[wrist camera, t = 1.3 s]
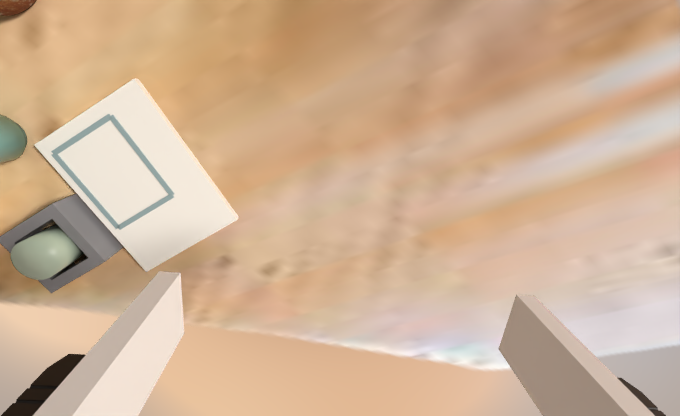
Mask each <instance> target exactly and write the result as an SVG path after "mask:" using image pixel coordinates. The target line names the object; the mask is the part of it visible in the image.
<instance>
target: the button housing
mask: <svg viewBox="0 0 680 416" xmlns="http://www.w3.org/2000/svg"><path fill="white" fill-rule="evenodd" d="M54 221H55V223H56V224H57V225H58V226H59V227H60V228H61V229H62V230H63V231H64V232H65V233H66V234H67V235H68V236H69V238H70V239H71V240H72V241H73V242H74V243H75V244H76V245H77V246H78V247H79V248H80V249H81V250H82V251H83V252H84V254H85V255H86V256H87V257H86V258H84V259H82V260H80V261H79V262H77V263H74V262H72V263H71V264H69V265H68V266H66V267H65V268H63V269H62V270H61V271H59V272H58V273H56V274H55V275H53V276H52V277H50V278H48V279H44V280H38V281H39V282H40V283H41V284H42V285H43V286H44V287H45V288H46V289H48V290H49V291H50V292H51V293H53V292H54V291H56V290H58V289H59V288H61V287H63V286H64V285H66V284H68V283H70V282H71V281H73V280H75V279H76V278H78V277H80V276H81V275H83V274H85V273H86V272H88V271H90V270H92V269H93V268H95V267H97V266H98V265H100V264H102V263H103V262H105V261H106V260H108V259H109V258H110V257H112V256H113V255H114V254H115V253H117V252H118V251H119V250H120V249H122V248H123V247H124V246H123V245H122V244H121V243H120V242H119V241H118V240H117V238H116V237H115V236H114V235H113V234H112V233H111V232H110V230H109V229H108V228H107V227H106V226H105V225H104V224H103V223H102V221H101V220H100V219H99V218H98V217H97V216H96V215H95V213H94V212H93V211H92V210H91V209H90V208H89V207H88V206H87V204H86V203H85V202H84V201H83V200H82V199H81V198H80V197H79V195H78V194H74V195H72V196H69V197H67V198H65V199H62V200H60V201H57V202H55V203H53V204H51V205H49V206H48V207H46V208H45V209H43V210H41V211H40V212H38V213H37V214H35V215H33V216H32V217H30V218H29V219H27V220H26V221H24V222H22V223H21V224H19V225H18V226H16V227H14V228H13V229H11V230H10V231H8V232H7V233H5V234H3V235H2V236H0V243H1V244H2V245H3V246H4V247H5V248H6V249H7V250H8V251H9V252H10V253H11V251H12V248H13V247H14V246H15V245H16V244H17V243H19V242H21V241H23V240H25V239H27V238H29V237H31V236H33V235H35V234H37V233H39V232H41V231H43V228H44V227H46V226H48V225H49V224H51V223H52V222H54Z"/></svg>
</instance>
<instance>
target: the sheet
mask: <svg viewBox="0 0 680 416" xmlns="http://www.w3.org/2000/svg"><path fill="white" fill-rule="evenodd" d="M34 146H35V147H36V148H37V149H38V150H39V151H40V152H41V153H42V155H43V156H44V157H45V158H46V159H47V160H48V161H49V163H50V164H51V165H52V166H53V167H54V168H55V169H56V170H57V172H58V173H59V174H60V175H61V176H62V177H63V178H64V180H65V181H66V182H67V183H68V184H69V185H70V186H71V187H72V189H73V190H74V191H75V192H76V193H77V194H78V195H79V197H80V198H81V199H82V200H83V201H84V202H85V203H86V204H87V206H88V207H89V208H90V209H91V210H92V211H93V212H94V213H95V215H96V216H97V217H98V218H99V219H100V220H101V221H102V223H103V224H104V225H105V226H106V227H107V228H108V229H109V230H110V232H111V233H112V234H113V235H114V236H115V237H116V238H117V240H118V241H119V242H120V243H121V244H122V245H123V246H124V247H125V249H126V250H127V251H128V252H129V253H130V254H131V255H132V257H133V258H134V259H135V260H136V261H137V262H138V263H139V264H140V266H141V267H142V268H143V269H144V270H145V271H146V272H147V271H149V270H151V269H152V268H154V267H156V266H158V265H159V264H161V263H163V262H165V261H166V260H168V259H170V258H172V257H173V256H175V255H177V254H179V253H180V252H182V251H184V250H186V249H187V248H189V247H191V246H192V245H194V244H196V243H198V242H199V241H201V240H203V239H205V238H206V237H208V236H210V235H212V234H213V233H215V232H217V231H219V230H220V229H222V228H224V227H226V226H227V225H229V224H231V223H232V222H234V221H236V220H237V219H238V218H239V217H238V215H237V214H236V212H235V211H234V210H233V208H232V207H231V206H230V204H229V203H228V201H227V200H226V199H225V197H224V196H223V194H222V193H221V192H220V190H219V189H218V188H217V186H216V185H215V183H214V182H213V181H212V179H211V178H210V177H209V175H208V174H207V172H206V171H205V170H204V168H203V167H202V166H201V164H200V163H199V161H198V160H197V159H196V157H195V156H194V155H193V153H192V152H191V150H190V149H189V148H188V146H187V145H186V144H185V142H184V141H183V139H182V138H181V137H180V135H179V134H178V133H177V131H176V130H175V128H174V127H173V126H172V124H171V123H170V122H169V120H168V119H167V117H166V116H165V115H164V113H163V112H162V111H161V109H160V108H159V106H158V105H157V104H156V102H155V101H154V99H153V98H152V97H151V95H150V94H149V93H148V91H147V90H146V88H145V87H144V86H143V84H142V83H141V82H140V80H139V79H133V80H131V81H130V82H128V83H127V84H125V85H124V86H122V87H121V88H119V89H118V90H116V91H115V92H113V93H112V94H110V95H109V96H107V97H106V98H104V99H103V100H101V101H100V102H98V103H97V104H95V105H94V106H92V107H91V108H89V109H88V110H86V111H85V112H83V113H82V114H80V115H79V116H77V117H76V118H74V119H73V120H71V121H70V122H68V123H67V124H65V125H64V126H62V127H61V128H59V129H58V130H56V131H55V132H53V133H52V134H50V135H49V136H47V137H46V138H44V139H43V140H41V141H39V142H38V143H36V144H35V145H34Z"/></svg>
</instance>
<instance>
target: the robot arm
mask: <svg viewBox="0 0 680 416" xmlns="http://www.w3.org/2000/svg"><path fill="white" fill-rule="evenodd" d="M183 334H184V322H183V306H182V289H181V273H178V272H162V271H159V272H158V273H157V274H156V276H155V277H154V278H153V279H152V280H151V281H150V282H149V283H148V285H147V286H146V287H145V288H144V289H143V290H142V291H141V293H140V294H139V295H138V296H137V297H136V298H135V299H134V301H133V302H132V303H131V304H130V305H129V306H128V307H127V309H126V310H125V311H124V312H123V313H122V314H121V315H120V317H119V318H118V319H117V320H116V321H115V322H114V323H113V325H112V326H111V327H110V328H109V329H108V330H107V331H106V333H105V334H104V335H103V336H102V337H101V339H99V341H98V342H97V343H96V344H95V345H94V346H93V347H92V349H91V350H90V351H89V352H88V353H87V354H86V355H80V354H68V355H67V356H65V357H64V358H62V359H61V360H59V361H57V362H56V363H54V364H53V365H51V366H50V367H48V368H47V369H46V370H45V371H44V372H43V373H42V374H41V375H40V376H39V377H38V378H37V379H36V380H35V381H34V382H33V383H32V384H31V387H30V388H29V389H26V390H25V391H24V392H23V393H22V395H21V396H20V397H19V398H18V399H17V401H16V403H13V404H12V405H11V406H10V407H9V408H8V409H7V410H6V411H5V412H4V413H3V414H2V415H1V416H138V415H139V413H140V411H141V409H142V408H143V406H144V404H145V402H146V400H147V399H148V397H149V395H150V393H151V391H152V390H153V388H154V386H155V384H156V383H157V381H158V379H159V377H160V375H161V373H162V372H163V370H164V368H165V366H166V365H167V363H168V361H169V359H170V357H171V356H172V354H173V352H174V350H175V348H176V347H177V345H178V343H179V341H180V340H181V338H182V336H183ZM499 350H500V352H501V353H502V355H503V356H504V358H505V359H506V361H507V362H508V364H509V365H510V367H511V368H512V370H513V371H514V373H515V374H516V376H517V377H518V379H519V380H520V382H521V383H522V385H523V387H524V388H525V389H526V391H527V393H528V394H529V395H530V397H531V398H532V400H533V402H534V403H535V404H536V406H537V408H538V409H539V410H540V412H541V413H542V415H543V416H666V415H664V414H663V412H661V411H658V409H657V407H656V406H655V405H654V404H653V403H652V402H651V401H650V400H649V399H648V398H647V397H646V396H645V395H644V394H643V393H642V392H641V391H639V390H638V389H636V388H635V387H633V386H632V385H630V384H629V383H628V382H626V381H625V380H623V379H622V378H617V377H616V376H614V374H613V373H611V371H609V369H608V368H607V367H606V366H604V365H603V364H602V362H601V361H600V360H599V359H598V358H597V357H596V356H595V355H594V354H593V353H592V352H591V351H590V350H589V349H588V348H586V347H585V346H584V345H583V344H582V343H581V342H580V341H579V340H578V339H577V338H576V337H575V336H574V335H573V334H572V333H571V332H570V331H569V330H568V329H567V328H566V327H565V326H564V325H563V324H562V323H561V322H560V321H559V320H558V319H557V318H556V317H555V316H554V315H553V314H552V313H551V312H550V311H549V310H548V309H547V308H546V307H545V306H544V305H543V304H542V303H541V302H540V301H539V300H538V299H537V298H536V297H535V296H531V295H516V297H515V301H514V304H513V307H512V310H511V313H510V316H509V319H508V322H507V325H506V328H505V331H504V334H503V337H502V340H501V343H500V346H499Z"/></svg>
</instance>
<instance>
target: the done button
mask: <svg viewBox="0 0 680 416" xmlns="http://www.w3.org/2000/svg"><path fill="white" fill-rule="evenodd" d="M83 254H84V252H83V251H82V250H81V249H80V248H79V247H78V246H77V245H76V244H75V243H74V242H73V241H72V240H71V239H70V238H69V236H68V235H67V234H66V233H65V232H64V231H63V230H62V229H61V228H60V227H59V226H58V225H54V226H51V227H49V228H47V229H45V230H43V231H41V232H39V233H37V234H35V235H33V236H31V237H29V238H27V239H25V240H23V241H21V242H19V243H17V244H16V245H15V246H14V247H13V248H12V251H11V261H12V263H13V265H14V267H15V268H16V269H17V270H18V271H19V272H20V273H21V274H23V275H25V276H26V277H29V278H31V279H36V280H44V279H48V278H50V277H52V276H53V275H55V274H56V273H58V272H59V271H61V270H62V269H63V268H65V267H66V266H68V265H69V264H71V263H72V262H74V261H75V260H77V259H78V258H80V257H81V256H82V255H83Z"/></svg>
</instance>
